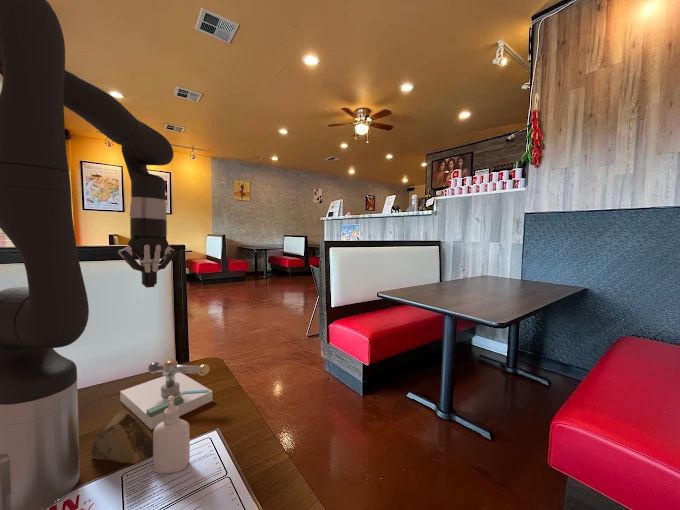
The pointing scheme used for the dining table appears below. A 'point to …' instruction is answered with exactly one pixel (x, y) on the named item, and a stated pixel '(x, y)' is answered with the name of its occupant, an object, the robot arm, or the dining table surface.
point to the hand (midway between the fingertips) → (149, 286)
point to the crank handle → (176, 370)
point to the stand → (164, 398)
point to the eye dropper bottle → (171, 442)
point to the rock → (123, 441)
